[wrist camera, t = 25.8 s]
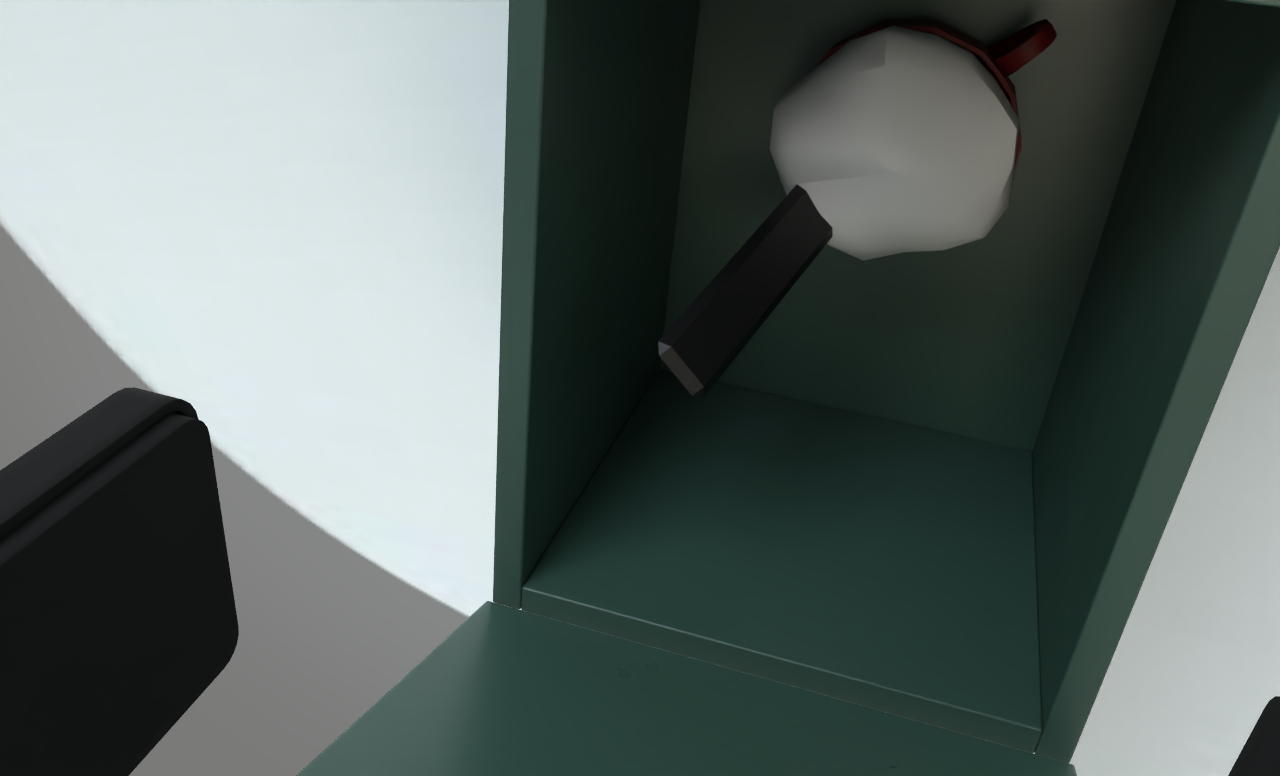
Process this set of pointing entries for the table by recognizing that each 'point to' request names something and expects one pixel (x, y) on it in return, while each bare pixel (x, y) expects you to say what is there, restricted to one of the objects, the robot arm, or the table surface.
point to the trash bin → (874, 352)
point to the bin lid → (630, 717)
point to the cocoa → (869, 171)
